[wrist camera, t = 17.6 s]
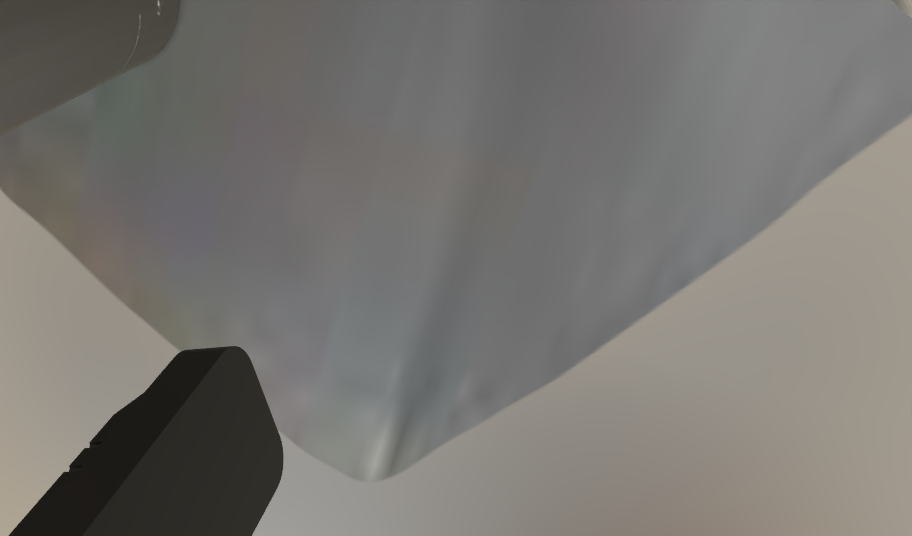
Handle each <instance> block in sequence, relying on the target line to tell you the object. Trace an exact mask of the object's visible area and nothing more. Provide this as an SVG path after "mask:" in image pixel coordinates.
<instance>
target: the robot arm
mask: <svg viewBox="0 0 912 536" xmlns="http://www.w3.org/2000/svg"><path fill="white" fill-rule="evenodd" d="M179 3H180V0H0V136H1V135H3V134H5V133H7V132H9V131H11V130H13V129H15V128H17V127H19V126H21V125H23V124H25V123H27V122H28V121H30V120H32V119H34V118H36V117H38V116H40V115H42V114H44V113H46V112H48V111H50V110H52V109H54V108H56V107H58V106H60V105H62V104H63V103H65V102H67V101H69V100H71V99H73V98H75V97H77V96H79V95H81V94H83V93H85V92H87V91H89V90H91V89H93V88H95V87H97V86H99V85H100V84H103V83H105V82H107V81H109V80H111V79H113V78H115V77H117V76H118V75H120V74H122V73H124V72H126V71H128V70H130V69H132V68H134V67H136V66H138V65H140V64H142V63H144V62H145V61H147V60H149V59H151V58H152V57H153V56H154V55H156V54H157V53H158V52H159V51H160V50H161V49H162V48H163V47H164V45H165V44H166V43H167V41H168V40H169V38H170V37H171V35H172V32H173V30H174V27H175V24H176V22H177V18H178V11H179ZM69 467H70V470H69V472H64V473H63V474H62V475H61V476H60V477H59V478H58V479H57V481H56V482H55V483H54V484H53V485H52V487H51V488H50V489H49V490H48V491H47V492H46V493H45V495H44V496H43V497H42V498H41V499H40V500H39V501H38V503H37V504H36V505H35V506H34V507H33V508H32V509H31V511H30V512H29V513H28V514H27V515H26V516H25V517H24V519H23V520H22V521H21V522H20V523H19V524H18V525H17V527H16V528H15V529H14V530H13V531H12V532H11V534H10V535H9V536H252V534H253V532H254V530H255V528H256V527H257V525H258V523H259V521H260V519H261V517H262V515H263V514H264V512H265V510H266V508H267V506H268V504H269V502H270V501H271V499H272V497H273V495H274V493H275V491H276V489H277V487H278V485H279V482H280V480H281V476H282V470H283V447H282V442H281V439H280V435H279V433H278V430H277V428H276V425H275V422H274V420H273V417H272V414H271V412H270V409H269V407H268V404H267V401H266V399H265V396H264V393H263V391H262V388H261V386H260V383H259V380H258V378H257V375H256V372H255V370H254V367H253V365H252V362H251V360H250V358H249V356H248V355H247V353H246V352H245V351H244V350H243V349H241V348H240V347H237V346H230V347H217V348H205V349H192V350H184V351H181V352H180V353H178V354H177V355H176V356H175V357H174V359H173V360H172V361H171V362H170V363H169V364H168V366H167V367H166V368H165V369H164V370H163V371H162V372H161V374H160V375H159V376H158V377H157V378H156V380H155V381H154V382H153V383H152V384H151V385H150V387H149V388H148V389H147V390H146V391H145V392H144V393H143V394H142V395H140V396H139V397H138V398H136V399H135V400H134V401H132V402H131V403H130V404H128V405H127V406H125V407H124V408H122V409H121V410H120V411H118V412H117V413H116V414H114V415H113V416H112V417H111V419H110V420H109V421H108V422H107V423H106V424H105V426H104V427H103V428H102V429H101V430H100V431H99V432H98V434H97V435H96V436H95V437H94V438H93V439H92V440H91V442H90V448H85V449H84V450H83V451H82V452H81V453H80V454H79V455H78V457H77V458H76V459H75V460H74V461H73V462H72V463H71V465H70V466H69Z"/></svg>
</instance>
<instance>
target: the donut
mask: <svg viewBox="0 0 912 536" xmlns="http://www.w3.org/2000/svg"><path fill="white" fill-rule="evenodd" d="M892 1H893V2H894V3H895V4H896V5H897V6H898V7H899V8H900V9H901V11H902V12H903V13H904V14H906V15H908V16H909V17H911V18H912V0H892Z"/></svg>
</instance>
